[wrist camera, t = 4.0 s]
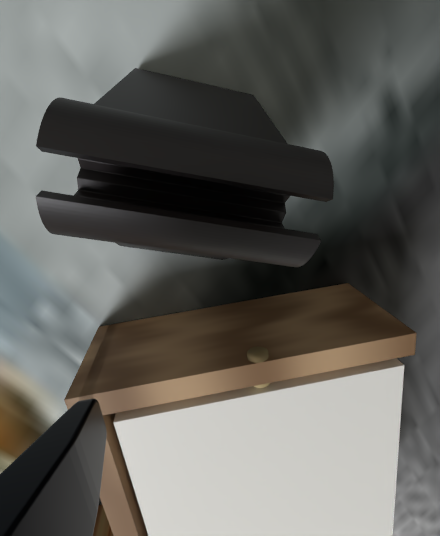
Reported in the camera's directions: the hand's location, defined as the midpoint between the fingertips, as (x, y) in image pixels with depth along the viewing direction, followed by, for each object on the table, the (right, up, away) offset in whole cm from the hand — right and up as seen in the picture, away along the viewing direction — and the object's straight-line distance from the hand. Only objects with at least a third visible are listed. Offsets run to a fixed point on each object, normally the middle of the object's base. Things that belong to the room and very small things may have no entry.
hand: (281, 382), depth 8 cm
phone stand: (-3, +8, +10) cm, 14 cm away
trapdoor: (+1, -9, +12) cm, 15 cm away
